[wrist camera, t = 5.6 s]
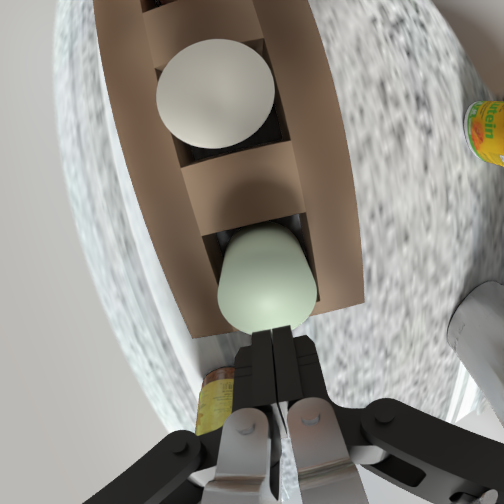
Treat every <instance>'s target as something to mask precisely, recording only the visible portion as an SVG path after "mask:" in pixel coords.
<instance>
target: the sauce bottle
mask: <svg viewBox="0 0 504 504" xmlns="http://www.w3.org/2000/svg"><path fill="white" fill-rule="evenodd" d="M234 370H235V369H234V367H224V368H220V369H217V370H215V371H212V372H211V373H209V374H208V375H207V376H206V377H205V379H204V381H203V383H202V389H201V391H200V394H199V404H198V412H197V421H196V430H195V434H196V435H197V436H199V435H202V434H205V433H208V432H211V431H214V430H216V429H218V428H220V427H221V426H223V425H224V422H225V420H226V419H227V417H228V416H229V415H230V414H231V412H232V400H233V382H234Z"/></svg>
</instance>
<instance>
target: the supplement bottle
mask: <svg viewBox="0 0 504 504" xmlns="http://www.w3.org/2000/svg"><path fill="white" fill-rule="evenodd" d="M464 131H465V137H466V140H467V143H468V146H469V148H470V150H471V151H472V152H473V154H474V155H475V156H476V157H477V158H479V159H480V160H483V161H486V162H489V163H493V164H496V165H500V166H503V167H504V102H502V101H477V102H474V103H472V104H471V105H470V106H469V108H468V109H467V112H466V115H465V120H464Z"/></svg>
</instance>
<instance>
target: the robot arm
mask: <svg viewBox="0 0 504 504" xmlns="http://www.w3.org/2000/svg"><path fill="white" fill-rule="evenodd" d="M447 339H448V343H449V345H450V346H451V347H452V349H453V350H454V352H455V353H456V354H457V356H458V357H459V359H460V360H461V361H462V363H463V364H464V366H465V367H466V369H467V370H468V372H469V373H470V375H471V376H472V378H473V379H474V381H475V382H476V384H477V385H478V387H479V388H480V390H481V391H482V393H483V394H484V396H485V397H486V399H487V401H488V402H489V404H490V405H491V407H492V409H493V410H494V412H495V414H496V415H497V417H498V419H499V421H500V422H501V424H502V426H503V427H504V285H500V284H499V283H497V282H495V281H489V282H486V283H483V284H481V285H480V286H478V287H477V288H475V289H474V290H473V291H472V292H471V293H470V294H469V295H468V296H467V297H466V298H465V299H464V300H463V302H462V303H461V304H460V306H459V307H458V309H457V310H456V312H455V314H454V315H453V318H452V320H451V322H450V325H449V328H448V333H447ZM234 369H235V370H234V382H233V400H232V412H231V414H230V415H229V416H228V417H227V419H226V420H225V422H224V425H223V426H221V427H220V428H218V429H216V430H214V431H211V432H208V433H205V434H202V435H199V436H197V435H196V434H194V433H193V432H191V431H187V430H178V431H174V432H172V433H170V434H168V435H167V436H166V437H165V438H164V439H162V440H161V441H160V442H159V443H158V444H157V445H155V446H154V447H153V448H152V449H151V450H150V451H148V452H147V453H146V454H145V455H144V456H143V457H141V458H140V459H139V460H138V461H137V462H135V463H134V464H133V465H132V466H131V467H129V468H128V469H127V470H126V471H125V472H123V473H122V474H121V475H120V476H118V477H117V478H116V479H114V480H113V481H112V482H110V483H109V484H108V485H107V486H105V487H104V488H103V489H101V490H100V491H99V492H97V493H96V494H95V495H93V496H92V497H91V498H89V499H88V500H86V501H85V502H84V503H82V504H282V500H281V497H282V447H281V439H284V438H288V436H287V431H288V434H289V437H290V438H291V443H292V448H293V453H294V458H295V462H296V467H297V472H298V482H299V487H300V492H301V497H302V502H303V504H369V502H368V499H367V496H366V493H365V491H364V487H363V484H362V481H361V478H360V475H359V473H358V470H357V468H356V465H355V464H360V465H361V466H362V467H364V468H366V469H367V470H369V471H371V472H373V473H374V474H376V475H378V476H380V477H382V478H383V479H385V480H387V481H389V482H391V483H392V484H395V485H396V486H398V487H400V488H402V489H404V490H406V491H408V492H410V493H412V494H414V495H416V496H419V497H421V498H423V499H425V500H427V501H429V502H431V503H434V504H504V444H503V443H500V442H497V441H495V440H492V439H489V438H486V437H483V436H481V435H478V434H476V433H473V432H470V431H468V430H465V429H463V428H460V427H458V426H455V425H453V424H450V423H448V422H445V421H443V420H441V419H438V418H436V417H433V416H431V415H429V414H427V413H424V412H422V411H420V410H417V409H415V408H413V407H411V406H409V405H406V404H404V403H402V402H400V401H398V400H395V399H391V398H382V399H378V400H375V401H373V402H371V403H370V404H369V405H368V406H367V407H366V408H344V407H341V406H338V405H336V404H335V403H334V402H332V401H331V399H330V398H329V396H328V394H327V390H326V386H325V382H324V378H323V374H322V370H321V366H320V363H319V359H318V355H317V351H316V347H315V344H314V342H313V341H312V340H311V339H310V338H309V337H308V336H307V335H303V336H299V337H294V338H293V335H292V330H291V326H290V325H287V326H282V327H277V328H272V331H271V329H267V330H262V331H257V332H252V346H247V347H241V348H240V350H239V352H238V353H237V355H236V357H235V365H234Z"/></svg>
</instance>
